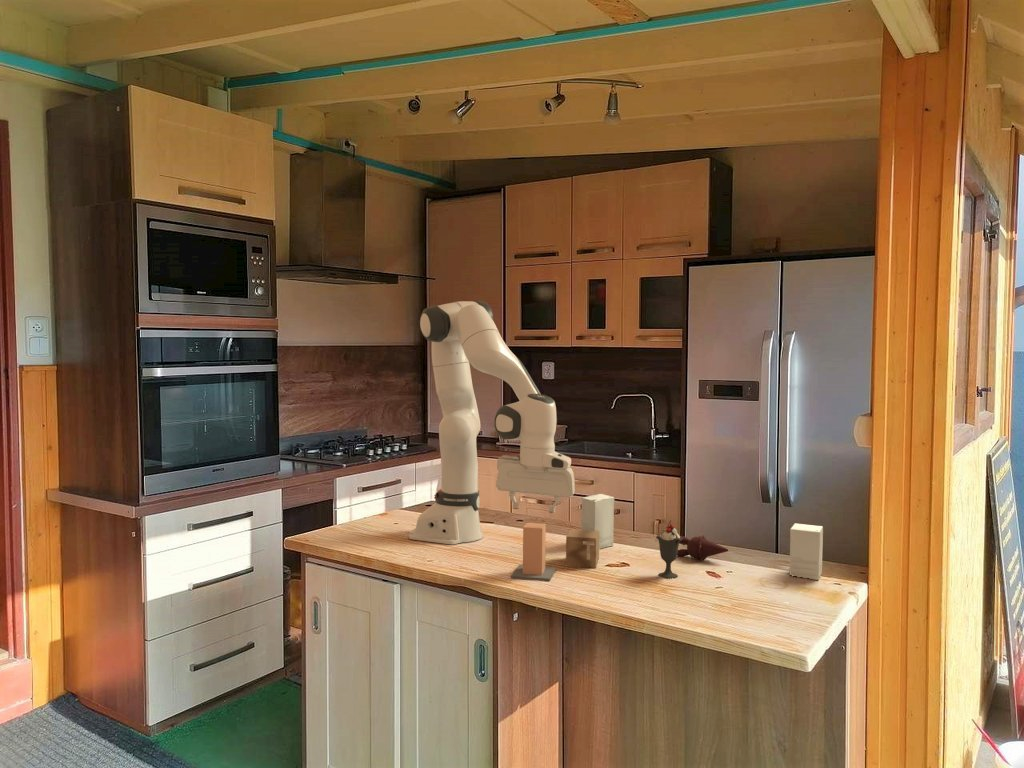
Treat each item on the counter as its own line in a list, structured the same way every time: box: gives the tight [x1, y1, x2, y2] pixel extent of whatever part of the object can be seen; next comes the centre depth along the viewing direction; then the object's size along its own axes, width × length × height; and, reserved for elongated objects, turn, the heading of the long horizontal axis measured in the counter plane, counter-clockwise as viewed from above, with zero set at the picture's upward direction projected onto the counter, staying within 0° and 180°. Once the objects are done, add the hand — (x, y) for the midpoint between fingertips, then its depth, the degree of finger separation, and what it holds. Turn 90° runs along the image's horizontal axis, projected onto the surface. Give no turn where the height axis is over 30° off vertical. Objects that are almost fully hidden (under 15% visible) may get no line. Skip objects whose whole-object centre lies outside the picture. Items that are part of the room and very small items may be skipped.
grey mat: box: [510, 564, 557, 582], centre depth 204 cm, size 10×10×1 cm
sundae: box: [655, 519, 682, 580], centre depth 203 cm, size 7×7×15 cm
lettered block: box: [565, 529, 600, 569], centre depth 214 cm, size 8×8×8 cm
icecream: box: [677, 535, 729, 562], centre depth 219 cm, size 7×7×15 cm
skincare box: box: [580, 493, 615, 550], centre depth 231 cm, size 8×6×15 cm
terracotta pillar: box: [522, 522, 547, 575], centre depth 204 cm, size 5×5×12 cm
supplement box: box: [789, 523, 824, 581], centre depth 206 cm, size 7×7×13 cm
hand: (533, 510), depth 203 cm, fingers open, 8 cm apart
